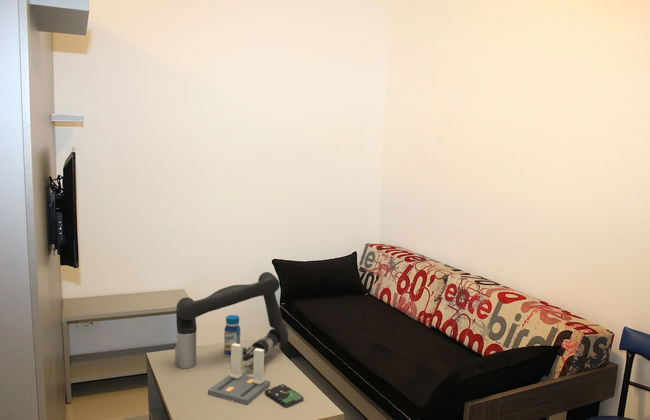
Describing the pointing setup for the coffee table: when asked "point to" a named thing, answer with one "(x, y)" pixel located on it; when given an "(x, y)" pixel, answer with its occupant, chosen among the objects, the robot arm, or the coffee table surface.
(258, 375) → the beige tall rectangular block
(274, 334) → the robot arm
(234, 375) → the beige square pillar
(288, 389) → the disk drive
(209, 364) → the coffee table surface
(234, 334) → the beverage bottle
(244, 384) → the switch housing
